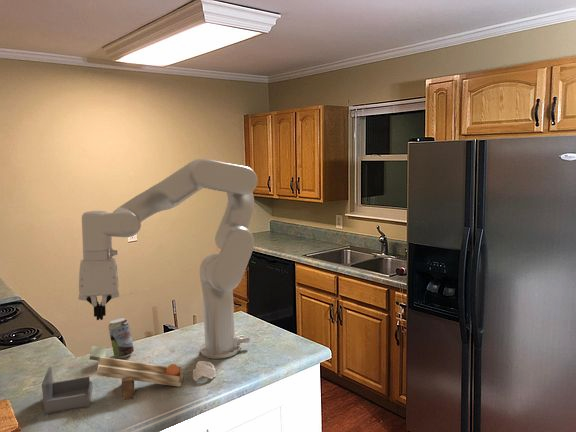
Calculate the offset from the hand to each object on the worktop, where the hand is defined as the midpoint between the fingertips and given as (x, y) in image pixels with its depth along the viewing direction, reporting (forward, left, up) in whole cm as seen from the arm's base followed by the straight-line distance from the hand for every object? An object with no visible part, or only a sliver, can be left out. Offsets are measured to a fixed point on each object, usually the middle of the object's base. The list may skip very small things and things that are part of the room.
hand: (100, 318), depth 131 cm
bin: (+8, +11, -17) cm, 22 cm away
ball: (-19, +11, -14) cm, 26 cm away
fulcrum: (-7, +11, -17) cm, 22 cm away
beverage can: (-5, -13, -18) cm, 22 cm away
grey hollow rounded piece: (-27, +10, -18) cm, 34 cm away
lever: (-8, +7, -15) cm, 18 cm away
